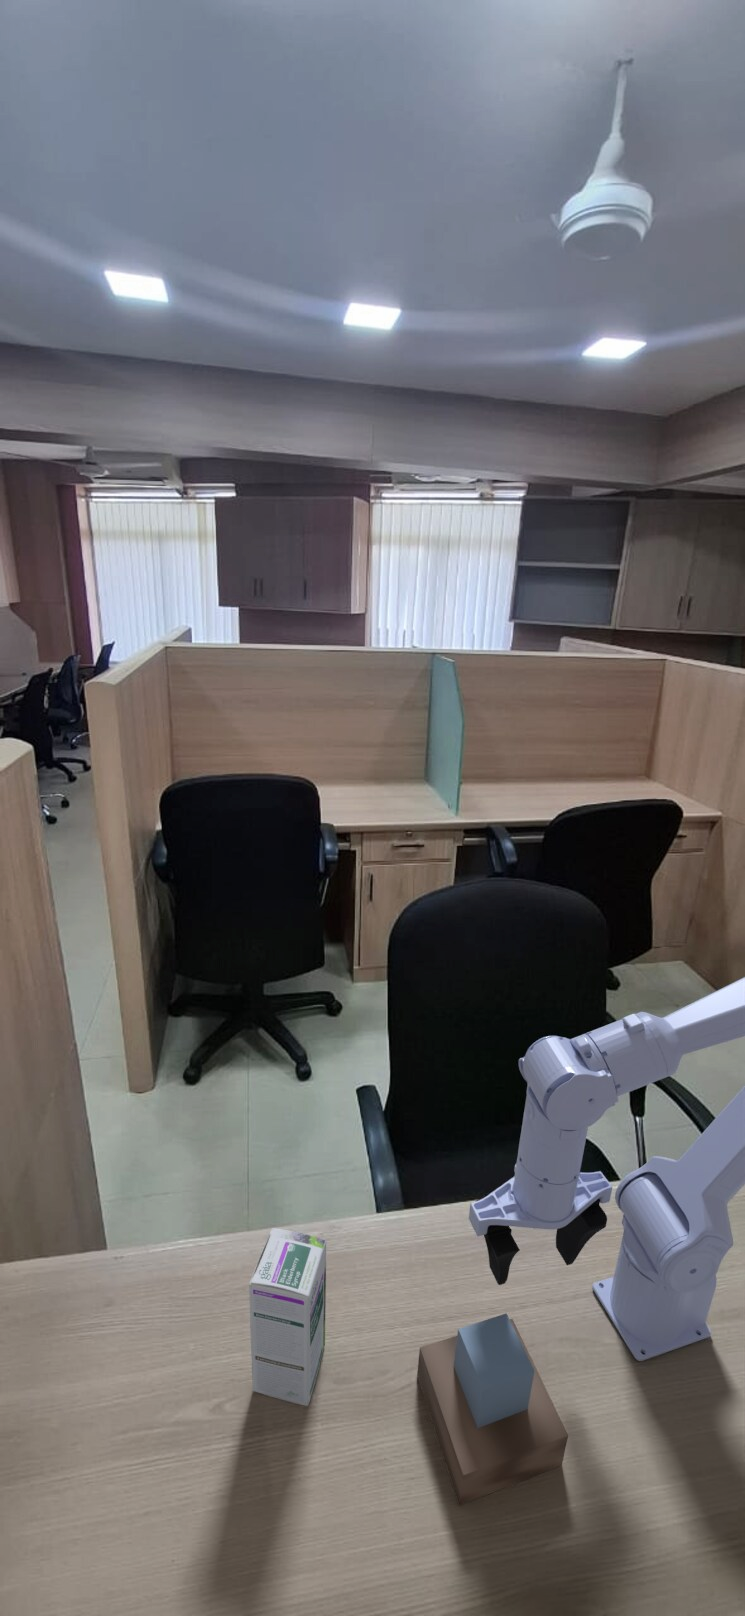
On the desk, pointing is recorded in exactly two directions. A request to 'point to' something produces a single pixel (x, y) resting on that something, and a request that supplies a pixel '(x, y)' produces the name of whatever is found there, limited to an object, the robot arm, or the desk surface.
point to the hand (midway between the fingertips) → (531, 1264)
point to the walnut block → (487, 1429)
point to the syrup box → (288, 1315)
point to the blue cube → (493, 1370)
